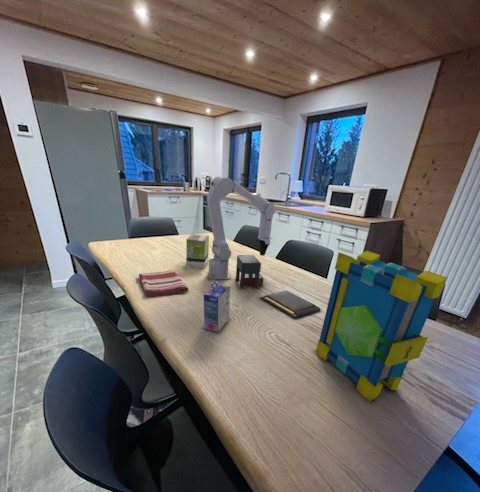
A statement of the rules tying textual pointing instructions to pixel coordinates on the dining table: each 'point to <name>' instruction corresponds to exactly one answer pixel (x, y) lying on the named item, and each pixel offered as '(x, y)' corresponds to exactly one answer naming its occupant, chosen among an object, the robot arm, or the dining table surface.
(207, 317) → the ink cartridge box
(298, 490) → the dining table surface
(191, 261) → the tea box
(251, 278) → the storage box
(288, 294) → the wallet
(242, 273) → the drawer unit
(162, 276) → the dish towel
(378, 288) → the decorative book
